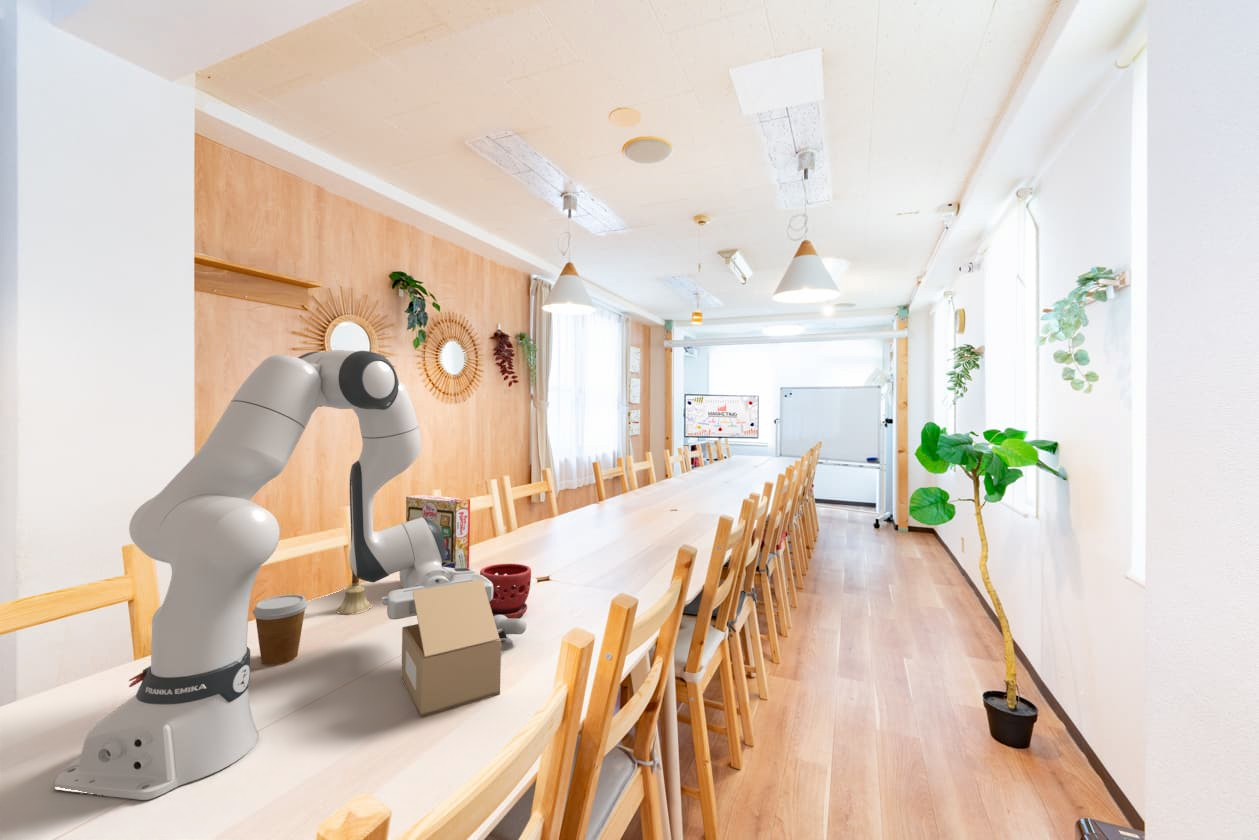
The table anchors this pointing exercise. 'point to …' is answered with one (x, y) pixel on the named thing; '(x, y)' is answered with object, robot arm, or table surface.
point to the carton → (448, 674)
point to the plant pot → (508, 588)
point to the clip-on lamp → (509, 627)
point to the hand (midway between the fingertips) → (452, 609)
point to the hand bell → (354, 598)
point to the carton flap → (454, 617)
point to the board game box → (445, 524)
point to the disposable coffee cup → (279, 627)
